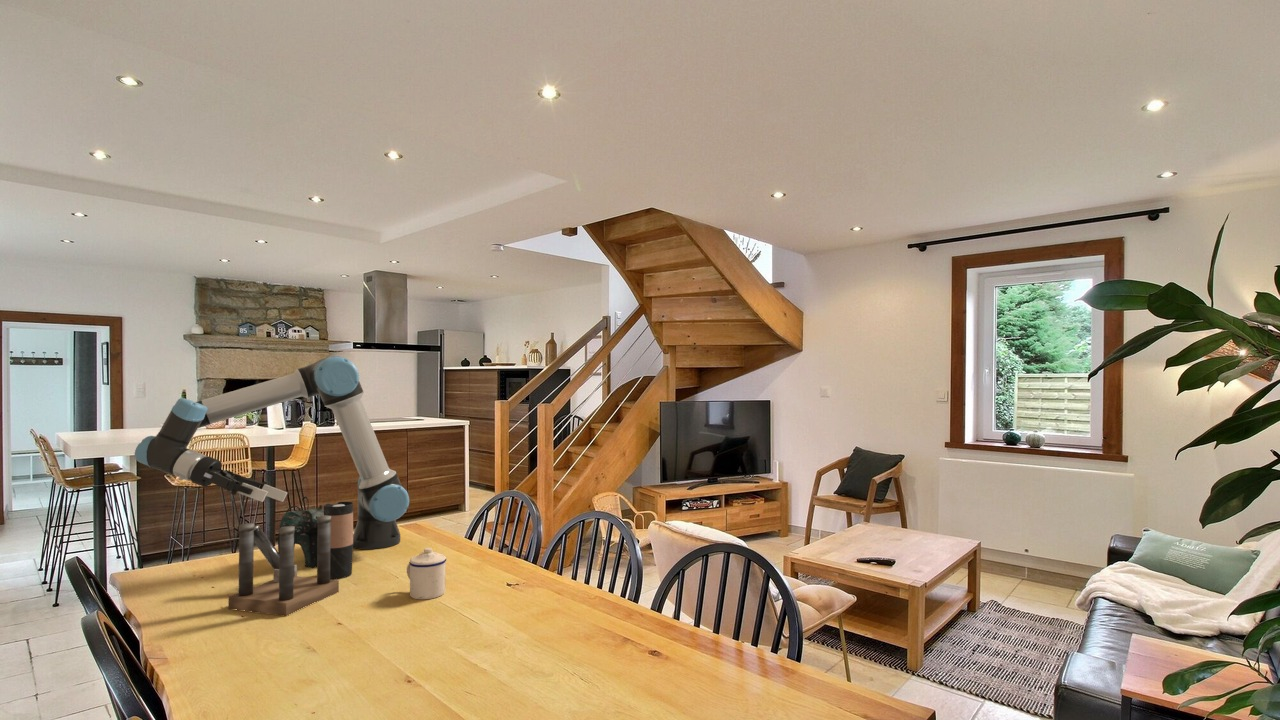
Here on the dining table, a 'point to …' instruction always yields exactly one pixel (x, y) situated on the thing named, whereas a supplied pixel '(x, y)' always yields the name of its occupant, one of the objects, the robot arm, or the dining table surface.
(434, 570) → the teacup with lid
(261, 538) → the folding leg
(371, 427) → the robot arm
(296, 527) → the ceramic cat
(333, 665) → the dining table surface
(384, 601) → the dining table surface
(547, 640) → the dining table surface
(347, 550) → the travel mug
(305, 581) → the stool
